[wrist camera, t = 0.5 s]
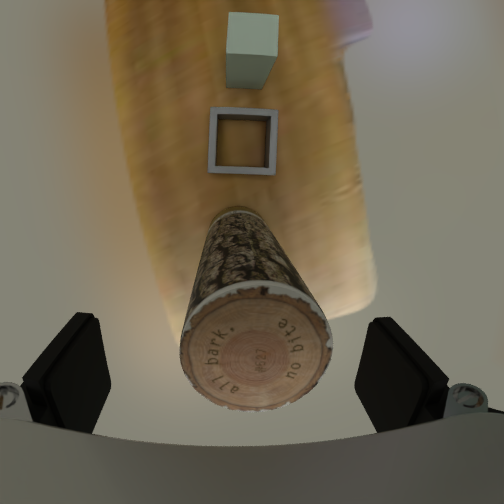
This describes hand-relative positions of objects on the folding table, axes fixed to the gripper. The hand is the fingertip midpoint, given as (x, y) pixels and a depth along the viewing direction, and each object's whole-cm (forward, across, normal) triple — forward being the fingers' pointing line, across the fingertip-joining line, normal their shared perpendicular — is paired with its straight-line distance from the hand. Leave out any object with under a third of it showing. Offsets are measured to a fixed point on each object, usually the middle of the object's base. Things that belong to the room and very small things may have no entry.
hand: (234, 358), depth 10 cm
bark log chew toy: (+28, -1, +2) cm, 28 cm away
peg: (+28, -1, -17) cm, 33 cm away
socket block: (+28, -1, -8) cm, 29 cm away
